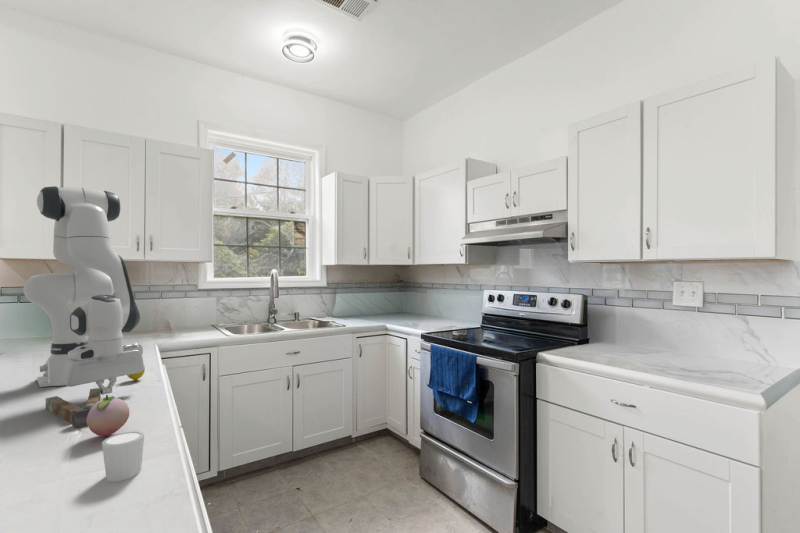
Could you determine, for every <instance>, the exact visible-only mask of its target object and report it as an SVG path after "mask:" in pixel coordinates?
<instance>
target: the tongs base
mask: <svg viewBox="0 0 800 533" xmlns="http://www.w3.org/2000/svg"><path fill="white" fill-rule="evenodd" d="M93 405H94V404H87V403H86V404H85V405H84V406H82V407H80V406H78V405H75V404H74V403H71V402H69V401H67V400H65V399H63V398H62V397H59V396H58V395H54V396H51V397H46V398H45V410H46V411H48V412H50V413H53V414H54V415H56V416H58V417H60V418H61V419H64V420H65V421H67V422H69V423H71V424H72V426H73V427H74V428H76V429H78V428H83V427H87V426H88V425H87V422H86V419H87V416H88V413H89V411H90V409H91V407H92V406H93Z"/></svg>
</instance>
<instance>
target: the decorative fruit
mask: <svg viewBox="0 0 800 533" xmlns="http://www.w3.org/2000/svg"><path fill="white" fill-rule="evenodd" d="M130 413H131V412H130V407H129V405H128V403H127V402H126V401H125V400H123V399H121V398H118V397H115V396H109V395H108V394H105V397H104V398H102V399H100V401H98V402H96V403H95V404H94V405H93V406H92V407H91V409H90V411H89V413H88V416H87V419H86V422H87V425H86V426H87V427H88V429H89V430H90V432H91V433H93V434H94V435H97V436H99V437H103V438H109V437H110V436H112V435H113V434H114V433H116V432H117V431H119V430H120V429H121V428H122V427H123V426H124V425H126V423H127V421H128V420H129V418H130Z"/></svg>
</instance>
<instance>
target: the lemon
mask: <svg viewBox="0 0 800 533" xmlns="http://www.w3.org/2000/svg"><path fill="white" fill-rule="evenodd" d="M143 364H144V362H143ZM144 365H145V364H144ZM144 374H145V366H144V369H143V370H142V371H141V372H139V373H134V374H129V375H126V376H127V377H128V378H129V379H131V380H133V381H134V382H136V381H138V380H139V379H140V378H142V377H143V375H144Z"/></svg>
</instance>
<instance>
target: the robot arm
mask: <svg viewBox="0 0 800 533" xmlns="http://www.w3.org/2000/svg"><path fill="white" fill-rule="evenodd" d="M36 204H37V206H36V207H37V208H38V210H39V213H40V214H41V215H42V216H44V217H45V218H47V219H50V220H54V226H53V245H52V246H53V250H52V254H53V256H54V258H55V259H56V260H57V261H58V262H60V263H62V264H65V265H68V266H70V267H73V268H74V270H75V271H74V272H51V273H49V272H47V273H42V274H36V275H31V276H30V277H29V278H28V279H27V280H26V281H25V283H24V286H23V289H22V290H23V295H24V297H25V299H26V300H28V301H29V302H30V303H31V304H34V305H36V306H38V307H39V308H40V309H41V310H43V312H45V314H46V315H47V316H48V318H49V321H50V322H51V323H50V324H51V329H52V343H51V346H50V353H49V354H50V355H49V357H48V358H47V360H46V362H44V363H43V365H40V366H39V372H40V373H43V374H42V375H39V376H37V377H36V382H37V384H38V387H39V388H45V387H56V386H57V387H59V386H66V387H67V386H68V387H77V386H81V385H85V384H90V383H95V385H97V388H100V393H101V396H102V395H108V394H111V393H113V388H114V385H115V383H116V382H117V378H119V377H124V376H127V375H129V374H134V373H139V372H141V371H142V370H143V369H144V367H145V364H143V363H144V357H143V353H144V351H143V350H144V348H143V346H142V345H141V344H138V343H133V344H126V345H124V335H123V333H130V332H132V331H133V330H134V329H135V328H136V327H137V326H138V325H139V324H140V321H141V316H140V311H139V308H138V305H137V304H136V300H135V297H134V293H133V289H132V286H131V281H130V276H129V273H128V269H127V267H126V264H125V261H124V258H123V257H122V256H121V255H119V254H118V253H117V252H116V251H115V250H114V247H113V245H112V243H111V231H110V225H109V222H112V221H116V219H118V218H119V217H120V213H121V211H122V204H121V201H120V197H119V196H118V195H117V194H116V193H114V192H111V191H107V190H99V189H93V188H85V187H81V188H80V187H64V186H63V187H58V186H44V187H43V188H41V190H40V191H39V193H38V195H37V198H36ZM79 303H86V304H84V305H81V306H77V308H75V309H72V308H71V304H79ZM106 380H108V381H109V382H108V384H107V386H104V385H103V384H104V383H105V381H106Z"/></svg>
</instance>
